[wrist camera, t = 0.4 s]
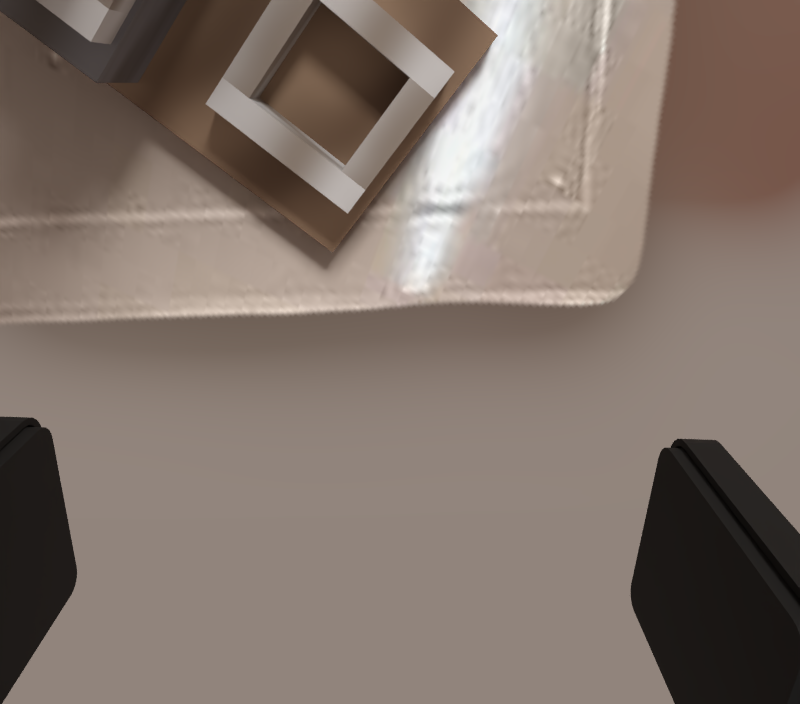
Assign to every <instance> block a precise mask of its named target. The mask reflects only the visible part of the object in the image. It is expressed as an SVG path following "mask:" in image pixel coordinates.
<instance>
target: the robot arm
mask: <svg viewBox="0 0 800 704" xmlns="http://www.w3.org/2000/svg"><path fill="white" fill-rule="evenodd" d="M76 578H77V568H76V562H75V557H74V551H73V546H72V540H71V535H70V530H69V524H68V519H67V514H66V508H65V503H64V498H63V492H62V487H61V482H60V476H59V471H58V465H57V460H56V455H55V449H54V444H53V439H52V435H51V433H50V431H49V430H48V429H47V428H42V427H41V425H40V424H39V422H38V421H37V420H36V419H34V418H23V417H22V418H21V417H0V704H2V703H3V700H4V699H5V698H6V696H7V695H8V693H9V691H10V690H11V688H12V687H13V685H14V684H15V682H16V681H17V679H18V677H19V676H20V674H21V673H22V671H23V670H24V668H25V666H26V665H27V663H28V662H29V660H30V659H31V657H32V655H33V654H34V652H35V651H36V649H37V647H38V646H39V644H40V643H41V641H42V640H43V638H44V636H45V635H46V633H47V632H48V630H49V629H50V627H51V626H52V624H53V622H54V621H55V619H56V618H57V616H58V615H59V613H60V611H61V610H62V608H63V607H64V605H65V603H66V602H67V600H68V599H69V597H70V596H71V594H72V592H73V590H74V587H75V583H76ZM631 601H632V606H633V609H634V612H635V614H636V616H637V619H638V621H639V623H640V626H641V628H642V630H643V632H644V634H645V637H646V639H647V641H648V643H649V646H650V648H651V650H652V653H653V655H654V657H655V659H656V662H657V664H658V666H659V669H660V671H661V673H662V676H663V678H664V680H665V682H666V685H667V687H668V689H669V691H670V694H671V696H672V698H673V701H674V703H675V704H800V534H799V533H798V532H797V530H796V529H795V528H794V527H793V526H792V525H791V524H790V522H788V520H787V519H786V518H785V517H784V516H783V515H782V513H781V512H780V511H779V510H778V509H777V508H776V506H775V505H774V504H773V503H772V502H771V501H770V500H769V499H768V497H767V496H766V495H765V494H764V493H763V492H762V491H761V489H760V488H759V487H758V486H757V485H756V484H755V483H754V482H753V480H752V479H751V478H750V477H749V476H748V475H747V473H745V471H744V470H743V469H742V468H741V467H740V465H738V463H737V462H736V461H735V460H734V459H733V458H732V456H731V455H730V454H729V453H728V452H727V451H726V450H725V448H724V447H723V446H722V445H721V444H720V443H719V442H718V441H716V440H696V439H677V440H675V441H674V442H673V444H672V446H671V448H664V449H662V451H661V453H660V456H659V458H658V463H657V468H656V472H655V477H654V482H653V486H652V491H651V496H650V500H649V505H648V509H647V514H646V519H645V524H644V528H643V532H642V537H641V542H640V546H639V551H638V556H637V560H636V565H635V569H634V575H633V579H632V583H631Z"/></svg>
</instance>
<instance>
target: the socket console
mask: <svg viewBox="0 0 800 704" xmlns="http://www.w3.org/2000/svg"><path fill="white" fill-rule="evenodd" d="M0 11H1V12H2V13H4V14H5V15H6V16H8V17H9V18H10V19H12V20H13V21H14V22H16V23H17V24H18V25H20V26H21V27H22V28H24V29H25V30H27V31H28V32H29V33H31V34H32V35H33V36H35V37H36V38H37V39H39V40H40V41H41V42H43V43H44V44H45V45H47V46H48V47H49V48H51V49H52V50H53V51H55V52H56V53H57V54H59V55H60V56H61V57H63V58H64V59H65V60H67V61H68V62H69V63H71V64H72V65H73V66H75V67H76V68H77V69H79V70H80V71H81V72H83V73H84V74H85V75H87V76H88V77H89V78H91V79H92V80H93V81H95V82H96V83H107V84H109V85H110V86H111V87H113V88H114V89H115V90H117V91H118V92H119V93H121V94H122V95H123V96H125V97H126V98H127V99H129V100H130V101H131V102H133V103H134V104H135V105H137V106H138V107H139V108H141V109H142V110H143V111H145V112H146V113H147V114H149V115H150V116H151V117H153V118H154V119H155V120H157V121H158V122H159V123H161V124H162V125H163V126H165V127H166V128H167V129H169V130H170V131H171V132H173V133H174V134H175V135H177V136H178V137H179V138H181V139H182V140H183V141H185V142H186V143H187V144H189V145H190V146H191V147H193V148H194V149H195V150H197V151H198V152H199V153H201V154H202V155H203V156H205V157H206V158H207V159H209V160H210V161H211V162H213V163H214V164H215V165H217V166H218V167H219V168H221V169H222V170H223V171H225V172H226V173H227V174H229V175H230V176H231V177H233V178H234V179H235V180H237V181H238V182H239V183H241V184H242V185H243V186H245V187H246V188H247V189H249V190H250V191H251V192H253V193H254V194H255V195H257V196H258V197H259V198H261V199H262V200H263V201H265V202H266V203H267V204H269V205H270V206H271V207H273V208H274V209H275V210H277V211H278V212H279V213H281V214H282V215H283V216H285V217H286V218H287V219H289V220H290V221H291V222H293V223H294V224H295V225H297V226H298V227H299V228H301V229H302V230H303V231H305V232H306V233H307V234H309V235H310V236H311V237H313V238H314V239H315V240H317V241H318V242H319V243H321V244H322V245H323V246H325V247H326V248H327V249H329V250H330V251H331V252H333V251H334V250H335V249H336V247H337V246H338V245H339V243H340V242H341V241H342V239H343V238H344V237H345V236H346V234H347V233H348V232H349V230H350V229H351V228H352V226H353V225H354V224H355V222H356V221H357V220H358V218H359V217H360V216H361V215H362V213H363V212H364V211H365V209H366V208H367V207H368V205H369V204H370V203H371V201H372V200H373V199H374V197H375V196H376V195H377V194H378V192H379V191H380V190H381V188H382V187H383V186H384V184H385V183H386V182H387V180H388V179H389V178H390V176H391V175H392V174H393V172H394V171H395V170H396V169H397V167H398V166H399V165H400V163H401V162H402V161H403V159H404V158H405V157H406V155H407V154H408V153H409V151H410V150H411V149H412V148H413V146H414V145H415V144H416V142H417V141H418V140H419V138H420V137H421V136H422V134H423V133H424V132H425V130H426V129H427V128H428V127H429V125H430V124H431V123H432V121H433V120H434V119H435V117H436V116H437V115H438V113H439V112H440V111H441V109H442V108H443V107H444V105H445V104H446V103H447V102H448V100H449V99H450V98H451V96H452V95H453V94H454V92H455V91H456V90H457V88H458V87H459V86H460V84H461V83H462V82H463V81H464V79H465V78H466V77H467V75H468V74H469V73H470V71H471V70H472V69H473V67H474V66H475V65H476V63H477V62H478V61H479V60H480V58H481V57H482V56H483V54H484V53H485V52H486V50H487V49H488V48H489V46H490V45H491V44H492V42H493V41H494V40H495V38H496V37H497V36H498V35H497V34H496V33H494V32H493V31H492V30H491V29H490V28H489V27H488V26H487V25H486V24H485V23H483V22H482V21H481V20H480V19H479V18H478V17H477V16H476V15H475V14H474V13H473V12H471V11H470V10H469V9H468V8H467V7H466V6H465V5H464V4H463V3H462V2H460V1H459V0H0Z"/></svg>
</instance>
